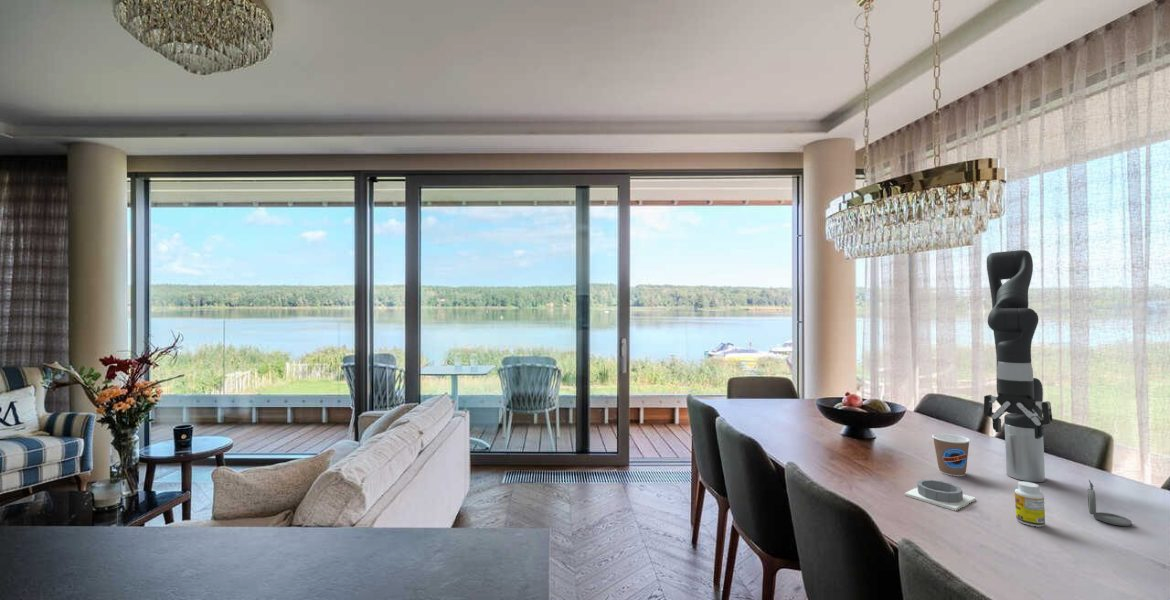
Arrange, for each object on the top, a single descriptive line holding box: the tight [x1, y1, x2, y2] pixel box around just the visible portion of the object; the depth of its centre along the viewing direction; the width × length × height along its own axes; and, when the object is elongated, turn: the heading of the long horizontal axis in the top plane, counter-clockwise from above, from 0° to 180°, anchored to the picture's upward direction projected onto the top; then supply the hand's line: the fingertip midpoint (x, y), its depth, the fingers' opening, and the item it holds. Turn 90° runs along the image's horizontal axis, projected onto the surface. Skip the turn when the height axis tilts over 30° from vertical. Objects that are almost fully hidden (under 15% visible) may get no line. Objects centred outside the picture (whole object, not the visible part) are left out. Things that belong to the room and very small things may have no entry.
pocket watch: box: [1087, 479, 1133, 527], centre depth 122 cm, size 8×8×10 cm
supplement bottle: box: [1014, 481, 1046, 528], centre depth 121 cm, size 6×6×10 cm
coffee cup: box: [931, 433, 971, 477], centre depth 158 cm, size 10×10×12 cm
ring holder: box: [904, 479, 977, 512], centre depth 138 cm, size 13×13×4 cm
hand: (1017, 435), depth 130 cm, fingers open, 8 cm apart
